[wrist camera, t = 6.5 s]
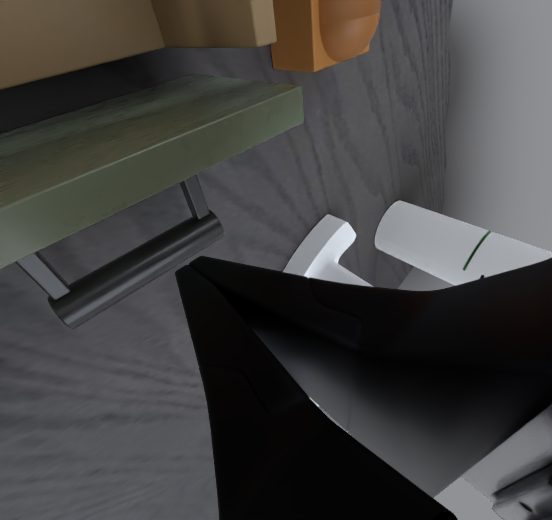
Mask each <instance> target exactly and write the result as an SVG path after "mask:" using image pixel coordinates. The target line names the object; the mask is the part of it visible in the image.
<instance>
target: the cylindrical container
mask: <svg viewBox="0 0 552 520" xmlns="http://www.w3.org/2000/svg"><path fill="white" fill-rule="evenodd" d="M375 247H376V248H377V249H379V250H381V251H383V252H385V253H387V254H390V255H392V256H394V257H396V258H398V259H400V260H402V261H404V262H406V263H409V264H411V265H413V266H415V267H417V268H419V269H421V270H423V271H426V272H428V273H430V274H432V275H434V276H436V277H438V278H440V279H442V280H444V281H447V282H449V283H451V284H453V285H455V286H456V285H460V284H463V283H467V282H471V281H474V280H478V279H481V278H485V277H489V276H492V275H496V274H499V273H503V272H506V271H510V270H514V269H517V268H521V267H524V266H528V265H531V264H535V263H538V262H541V261H544V260H547V259H549V258H552V252H550V251H547V250H544V249H541V248H538V247H535V246H532V245H529V244H526V243H523V242H521V241H518V240H515V239H512V238H509V237H506V236H503V235H500V234H497V233H494V232H491V233H490V231H489V230H486V229H483V228H480V227H477V226H474V225H471V224H468V223H465V222H462V221H459V220H456V219H453V218H450V217H447V216H445V215H442V214H439V213H436V212H433V211H430V210H427V209H424V208H421V207H418V206H415V205H412V204H409V203H406V202H403V201H401V200H400V201H397V202H395V203H394V204H392V205H391V206H390V207H389V209H388V210H387V211H386V213H385V214H384V216H383V217H382V219H381V221H380V223H379V225H378V228H377V231H376V235H375Z"/></svg>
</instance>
